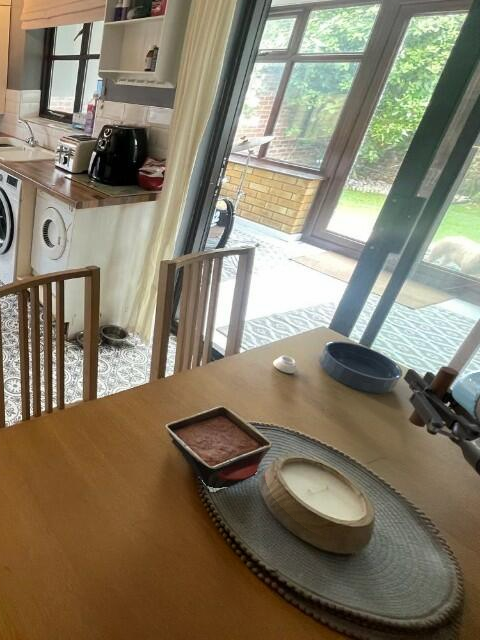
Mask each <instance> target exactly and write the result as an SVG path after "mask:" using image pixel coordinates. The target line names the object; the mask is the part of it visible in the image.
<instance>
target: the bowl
mask: <svg viewBox="0 0 480 640" xmlns="http://www.w3.org/2000/svg"><path fill="white" fill-rule="evenodd" d="M318 361H319V365H320V366H321V367H322V369H323V370H324V372H325V373H327V374H328V375H329V376H330V377H331V378H333V379H334V380H336V381H338V382H339V383H341V384H343V385H345V386H347V387H349V388H352V389H354V390H358V391H361V392H365V393H371V394H388V393H391V392H393V391H394V390H395V389H396V387H397V385H398V384H399V382H400V380H401V379H402V377H403V370H402V368H401V366H400V365H398V364H397V362H395V361H394V360H393V359H391V358H389V357H388V356H387V355H385V354H383V353H381V352H379V351H376V350H375V349H372V348H370V347H367V346H364V345H360V344H357V343H353V342H348V341H331V342H328V343H327V344H325V345H324V348H323V350H322V352H321V354H320V356H319V359H318Z"/></svg>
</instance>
